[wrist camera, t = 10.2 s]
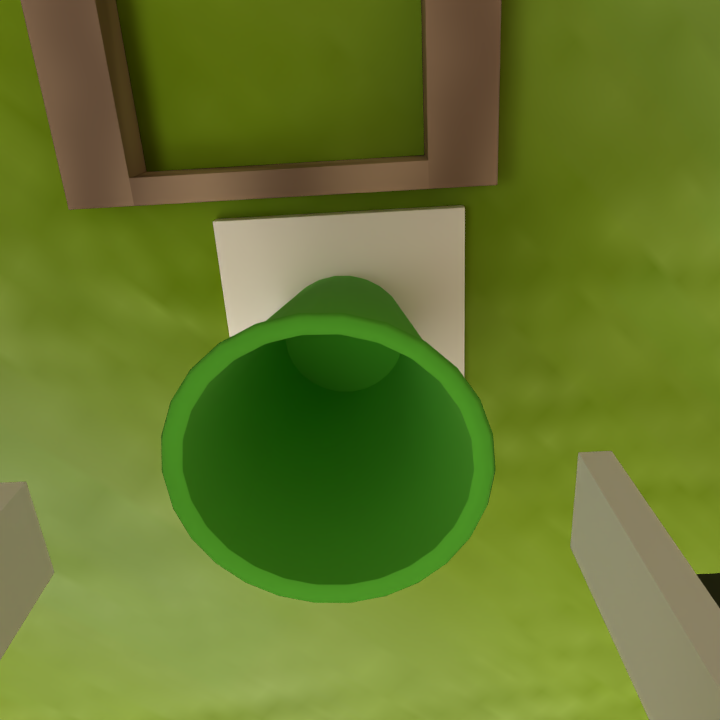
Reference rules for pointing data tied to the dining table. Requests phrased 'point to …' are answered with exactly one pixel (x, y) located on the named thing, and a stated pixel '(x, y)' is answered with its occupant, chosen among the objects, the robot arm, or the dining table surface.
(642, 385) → the dining table surface
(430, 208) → the coaster
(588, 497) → the robot arm
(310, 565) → the cup
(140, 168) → the board
